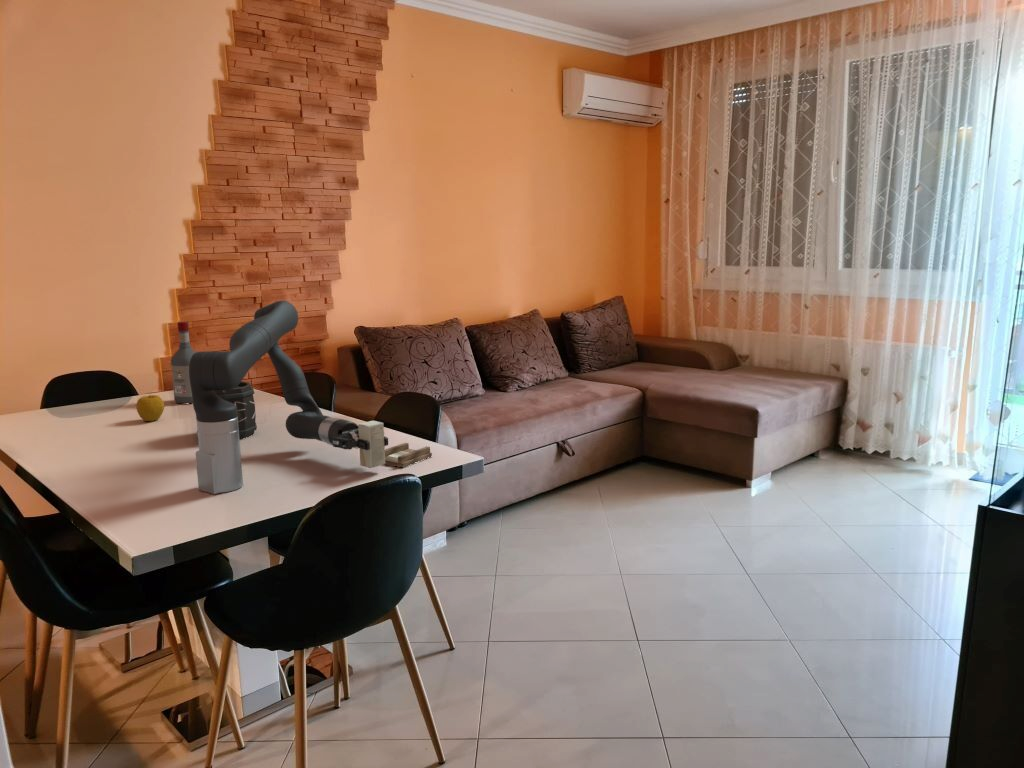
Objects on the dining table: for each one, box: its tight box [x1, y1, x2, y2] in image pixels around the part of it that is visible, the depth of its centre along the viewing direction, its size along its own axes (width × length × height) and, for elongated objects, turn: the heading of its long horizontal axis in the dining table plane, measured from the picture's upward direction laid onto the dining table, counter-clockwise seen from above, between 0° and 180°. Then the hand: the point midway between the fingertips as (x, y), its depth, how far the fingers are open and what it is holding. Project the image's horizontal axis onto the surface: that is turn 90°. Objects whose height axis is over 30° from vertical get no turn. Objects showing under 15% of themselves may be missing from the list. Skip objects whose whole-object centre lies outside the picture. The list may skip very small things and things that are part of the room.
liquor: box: [170, 321, 197, 404], centre depth 278 cm, size 9×9×30 cm
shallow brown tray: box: [384, 442, 433, 468], centre depth 203 cm, size 12×10×3 cm
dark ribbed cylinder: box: [196, 381, 258, 440], centre depth 229 cm, size 18×18×16 cm
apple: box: [135, 394, 165, 422], centre depth 249 cm, size 8×8×9 cm
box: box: [357, 420, 386, 469], centre depth 190 cm, size 5×4×11 cm
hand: (377, 443), depth 188 cm, fingers closed on box, 5 cm apart
